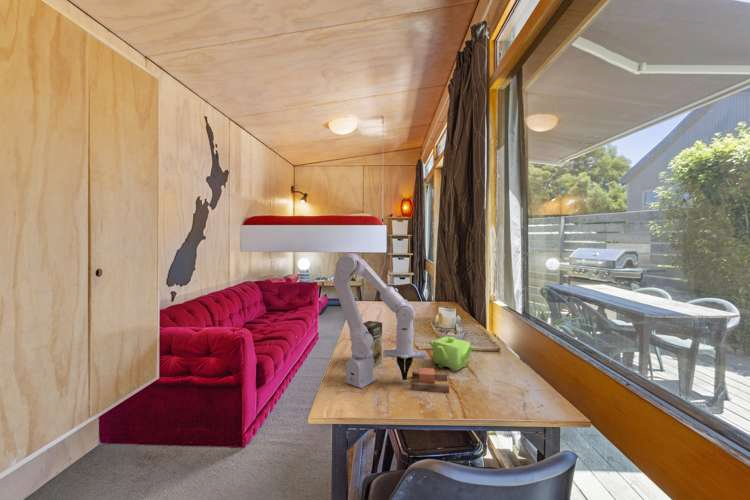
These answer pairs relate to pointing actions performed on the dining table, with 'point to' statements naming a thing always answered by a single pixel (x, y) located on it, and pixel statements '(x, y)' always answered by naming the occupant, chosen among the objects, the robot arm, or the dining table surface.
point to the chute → (430, 386)
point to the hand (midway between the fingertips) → (404, 378)
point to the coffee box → (375, 340)
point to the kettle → (451, 352)
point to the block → (426, 375)
